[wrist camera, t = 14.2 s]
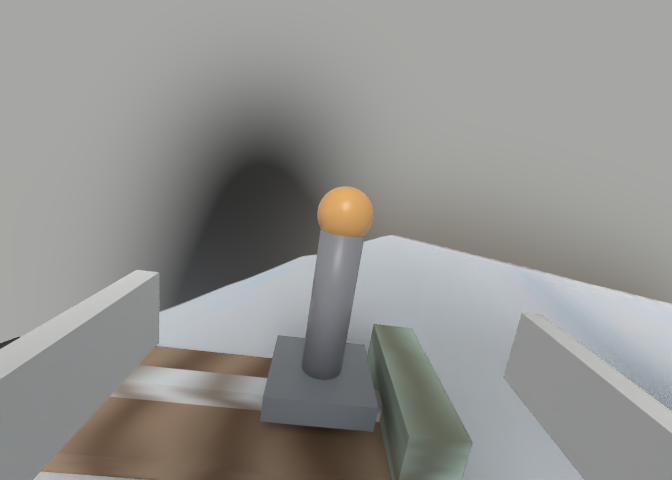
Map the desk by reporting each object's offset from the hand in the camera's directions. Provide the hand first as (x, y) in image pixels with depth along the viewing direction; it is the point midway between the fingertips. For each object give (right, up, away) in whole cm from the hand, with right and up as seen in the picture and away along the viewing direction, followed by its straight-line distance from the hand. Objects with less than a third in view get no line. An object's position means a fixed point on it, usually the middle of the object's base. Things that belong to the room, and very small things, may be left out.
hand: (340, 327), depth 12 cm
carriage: (-2, -10, +15) cm, 18 cm away
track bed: (-7, -11, +15) cm, 20 cm away
